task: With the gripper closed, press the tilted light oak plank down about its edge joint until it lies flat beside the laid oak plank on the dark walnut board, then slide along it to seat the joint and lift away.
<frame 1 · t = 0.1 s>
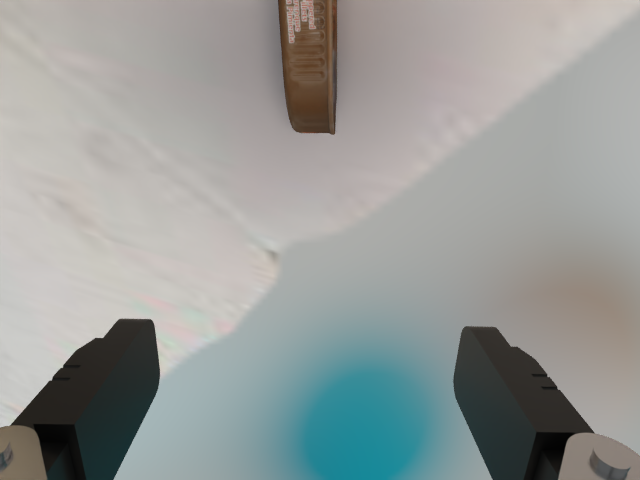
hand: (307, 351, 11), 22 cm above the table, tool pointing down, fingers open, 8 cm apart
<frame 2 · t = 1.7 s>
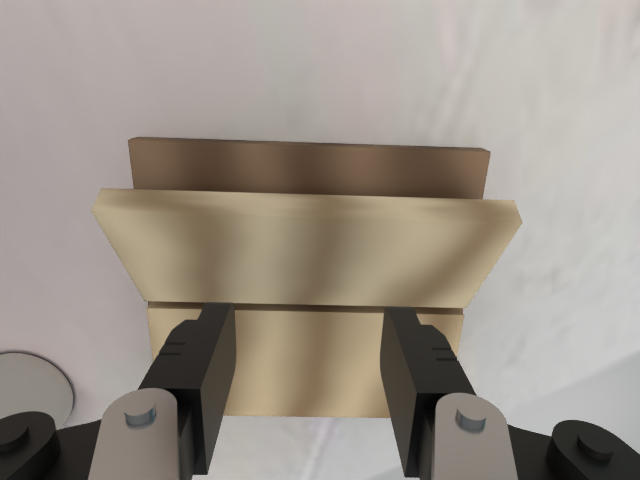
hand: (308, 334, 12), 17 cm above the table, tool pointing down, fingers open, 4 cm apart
oak plank: (308, 256, 24), point 5 cm above the table, hinge at 32.0°
floor board: (307, 283, 30), on the table
milk bottle: (28, 388, 33), on the table
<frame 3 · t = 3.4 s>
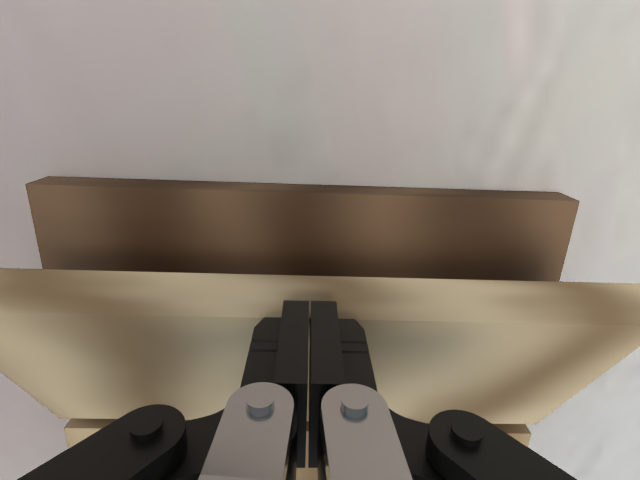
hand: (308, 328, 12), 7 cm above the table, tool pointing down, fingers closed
oak plank: (304, 361, 16), point 5 cm above the table, hinge at 28.9°, touching gripper
floor board: (303, 376, 22), on the table
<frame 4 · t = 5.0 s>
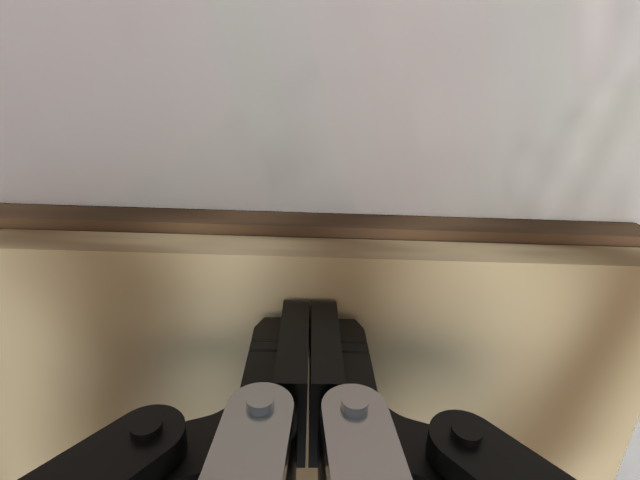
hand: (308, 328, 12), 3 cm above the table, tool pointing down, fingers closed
oak plank: (308, 374, 13), point 2 cm above the table, hinge at 0.5°, touching gripper
floor board: (305, 443, 17), on the table
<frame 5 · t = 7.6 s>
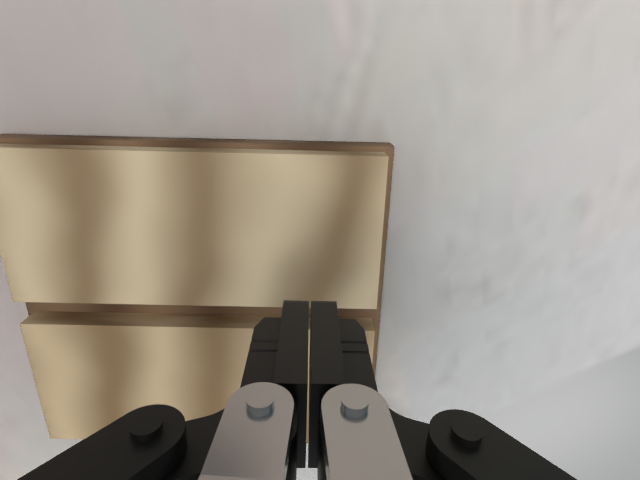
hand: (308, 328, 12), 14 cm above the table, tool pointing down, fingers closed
oak plank: (192, 229, 23), point 2 cm above the table, hinge at -0.3°, touching floor board
floor board: (209, 294, 27), on the table
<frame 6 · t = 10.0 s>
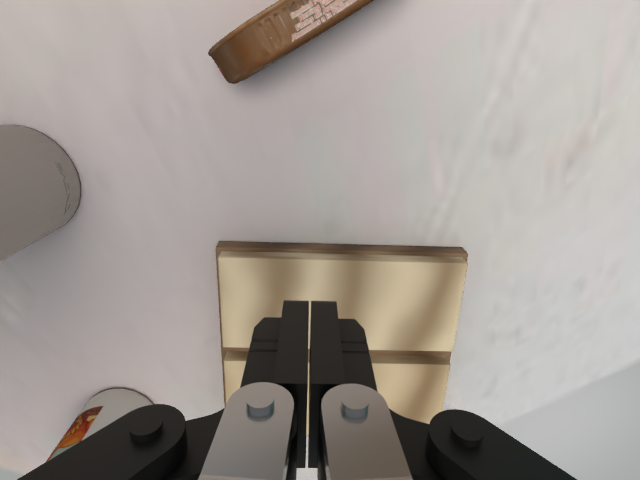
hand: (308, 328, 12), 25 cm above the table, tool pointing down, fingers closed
tin: (314, 20, 32), on the table
oak plank: (340, 302, 37), point 2 cm above the table, hinge at -0.3°, touching floor board
floor board: (336, 338, 41), on the table
milk bottle: (124, 414, 45), on the table
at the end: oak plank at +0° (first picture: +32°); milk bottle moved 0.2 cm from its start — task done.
